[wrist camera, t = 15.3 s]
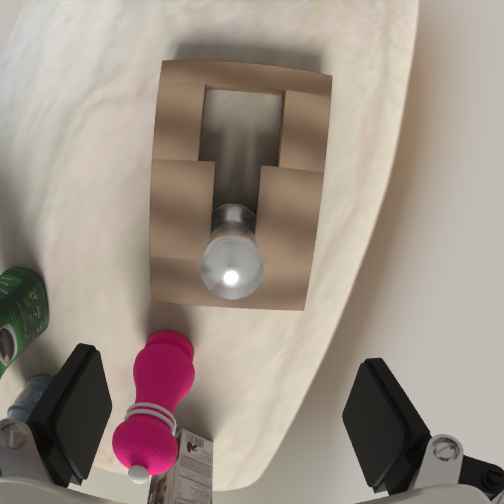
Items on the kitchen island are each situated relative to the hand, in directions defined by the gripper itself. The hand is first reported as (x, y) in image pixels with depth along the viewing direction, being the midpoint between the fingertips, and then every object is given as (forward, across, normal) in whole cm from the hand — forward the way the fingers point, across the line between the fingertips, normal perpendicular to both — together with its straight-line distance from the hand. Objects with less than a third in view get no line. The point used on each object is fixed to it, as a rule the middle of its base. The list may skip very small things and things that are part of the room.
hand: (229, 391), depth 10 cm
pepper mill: (+24, +7, +16) cm, 30 cm away
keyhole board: (+24, 0, -5) cm, 25 cm away
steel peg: (+24, 0, 0) cm, 24 cm away
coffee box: (+24, +6, +37) cm, 45 cm away
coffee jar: (+24, +28, +11) cm, 39 cm away
